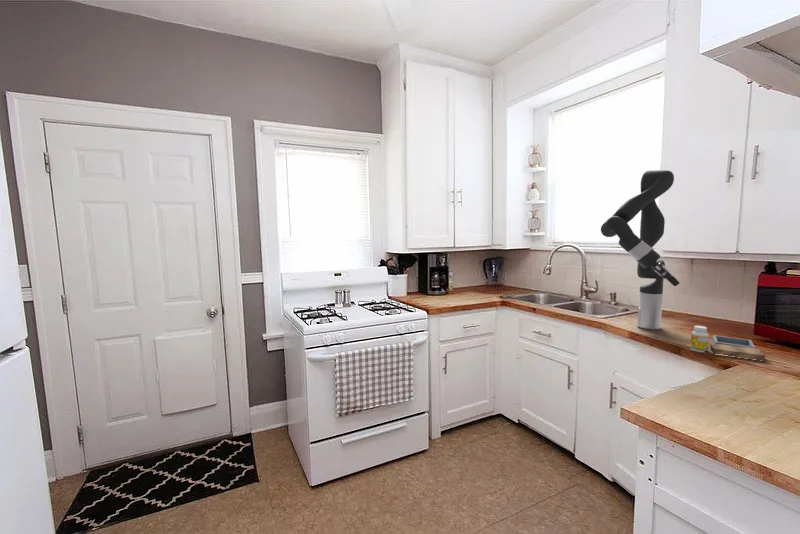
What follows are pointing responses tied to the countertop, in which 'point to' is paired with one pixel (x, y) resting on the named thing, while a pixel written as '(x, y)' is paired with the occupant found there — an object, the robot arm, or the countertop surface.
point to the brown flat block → (737, 351)
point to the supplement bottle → (699, 339)
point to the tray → (733, 341)
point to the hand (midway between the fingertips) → (676, 283)
